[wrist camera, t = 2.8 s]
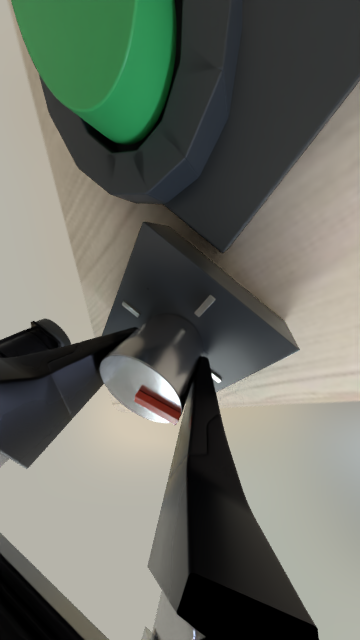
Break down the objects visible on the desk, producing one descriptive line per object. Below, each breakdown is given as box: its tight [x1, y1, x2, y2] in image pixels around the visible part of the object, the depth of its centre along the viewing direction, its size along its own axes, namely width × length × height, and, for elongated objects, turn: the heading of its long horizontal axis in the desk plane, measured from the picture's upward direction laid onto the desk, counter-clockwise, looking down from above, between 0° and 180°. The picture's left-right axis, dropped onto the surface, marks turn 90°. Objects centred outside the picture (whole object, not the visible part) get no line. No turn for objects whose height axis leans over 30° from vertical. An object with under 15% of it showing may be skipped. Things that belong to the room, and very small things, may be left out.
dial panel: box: [102, 222, 300, 404], centre depth 11 cm, size 10×10×3 cm
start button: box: [11, 0, 176, 145], centre depth 4 cm, size 4×4×2 cm
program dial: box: [99, 313, 203, 425], centre depth 8 cm, size 4×4×4 cm
